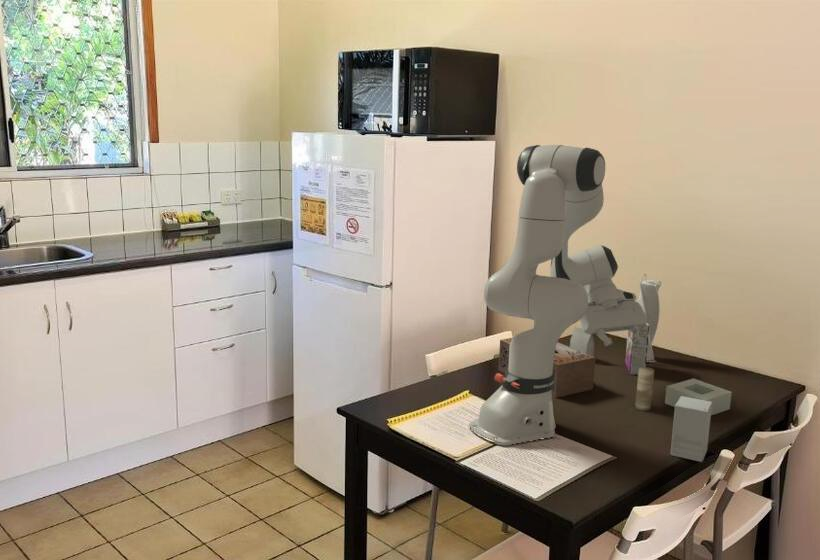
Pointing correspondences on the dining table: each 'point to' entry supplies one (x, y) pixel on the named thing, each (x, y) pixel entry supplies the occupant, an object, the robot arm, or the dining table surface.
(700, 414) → the supplement box
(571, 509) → the dining table surface
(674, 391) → the socket block
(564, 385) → the tissue box cover
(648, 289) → the skyscraper
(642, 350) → the candy bar box
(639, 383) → the peg
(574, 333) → the grey bevelled box
